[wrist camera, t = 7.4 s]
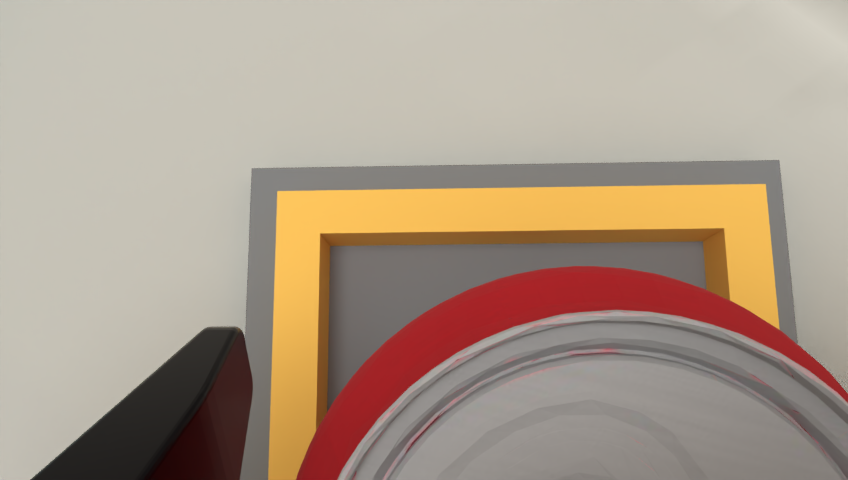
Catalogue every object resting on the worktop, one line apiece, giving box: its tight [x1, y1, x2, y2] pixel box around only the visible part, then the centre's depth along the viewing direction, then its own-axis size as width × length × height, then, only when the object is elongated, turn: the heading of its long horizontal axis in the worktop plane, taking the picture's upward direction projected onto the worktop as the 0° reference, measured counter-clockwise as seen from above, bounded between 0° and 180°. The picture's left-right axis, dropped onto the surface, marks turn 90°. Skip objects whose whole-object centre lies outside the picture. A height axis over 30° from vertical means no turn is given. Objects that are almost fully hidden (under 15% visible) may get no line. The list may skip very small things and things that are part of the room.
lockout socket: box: [240, 160, 798, 480], centre depth 18 cm, size 13×13×2 cm
